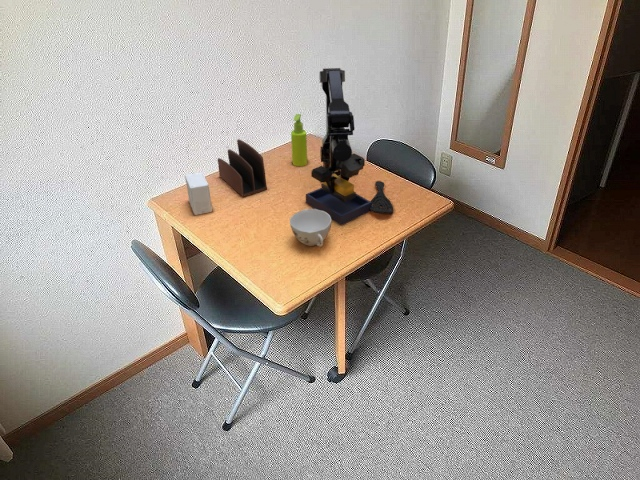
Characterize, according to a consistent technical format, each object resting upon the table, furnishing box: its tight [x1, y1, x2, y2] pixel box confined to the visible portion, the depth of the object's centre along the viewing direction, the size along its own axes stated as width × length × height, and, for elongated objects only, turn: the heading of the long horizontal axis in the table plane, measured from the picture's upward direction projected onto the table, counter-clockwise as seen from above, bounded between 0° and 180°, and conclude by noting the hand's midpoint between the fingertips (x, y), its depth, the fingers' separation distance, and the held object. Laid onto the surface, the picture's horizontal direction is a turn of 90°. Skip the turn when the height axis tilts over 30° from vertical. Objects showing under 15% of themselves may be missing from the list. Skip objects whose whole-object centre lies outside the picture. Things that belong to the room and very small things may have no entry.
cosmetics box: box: [184, 171, 213, 216], centre depth 165 cm, size 10×6×10 cm, turn 23°
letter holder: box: [217, 138, 268, 198], centre depth 178 cm, size 10×20×14 cm, turn 34°
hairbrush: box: [369, 180, 394, 215], centre depth 169 cm, size 8×4×25 cm
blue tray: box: [305, 187, 373, 226], centre depth 166 cm, size 19×14×4 cm
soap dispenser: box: [290, 113, 308, 167], centre depth 189 cm, size 6×7×20 cm
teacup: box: [289, 208, 332, 247], centre depth 148 cm, size 15×12×8 cm
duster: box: [320, 174, 357, 203], centre depth 163 cm, size 12×5×5 cm, turn 39°
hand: (338, 190), depth 163 cm, fingers closed on duster, 5 cm apart
